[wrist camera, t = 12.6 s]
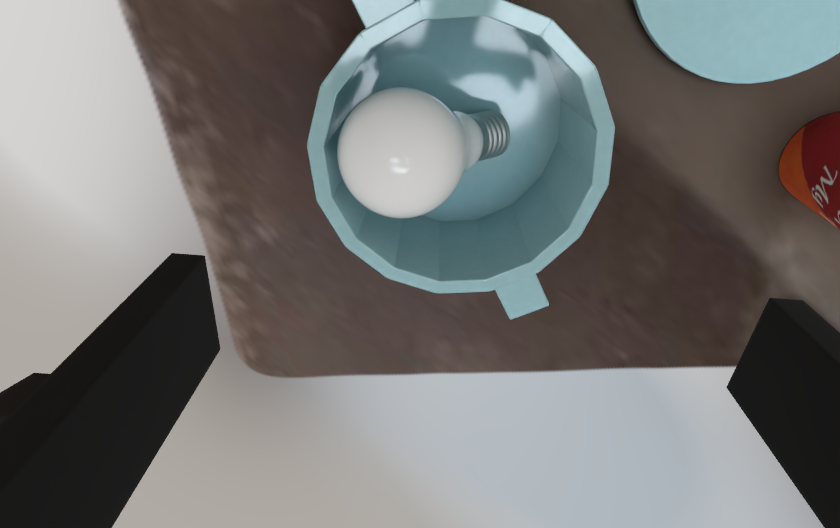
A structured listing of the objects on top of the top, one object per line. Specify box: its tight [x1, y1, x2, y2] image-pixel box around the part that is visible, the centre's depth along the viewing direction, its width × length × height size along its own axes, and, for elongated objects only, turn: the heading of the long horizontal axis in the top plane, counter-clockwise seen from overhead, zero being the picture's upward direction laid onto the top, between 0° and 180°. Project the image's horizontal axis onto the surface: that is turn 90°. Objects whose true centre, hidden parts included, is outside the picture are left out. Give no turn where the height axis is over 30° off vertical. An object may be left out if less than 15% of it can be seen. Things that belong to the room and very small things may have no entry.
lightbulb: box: [337, 87, 510, 218], centre depth 27 cm, size 6×6×11 cm
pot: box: [307, 0, 615, 320], centre depth 28 cm, size 14×20×8 cm
